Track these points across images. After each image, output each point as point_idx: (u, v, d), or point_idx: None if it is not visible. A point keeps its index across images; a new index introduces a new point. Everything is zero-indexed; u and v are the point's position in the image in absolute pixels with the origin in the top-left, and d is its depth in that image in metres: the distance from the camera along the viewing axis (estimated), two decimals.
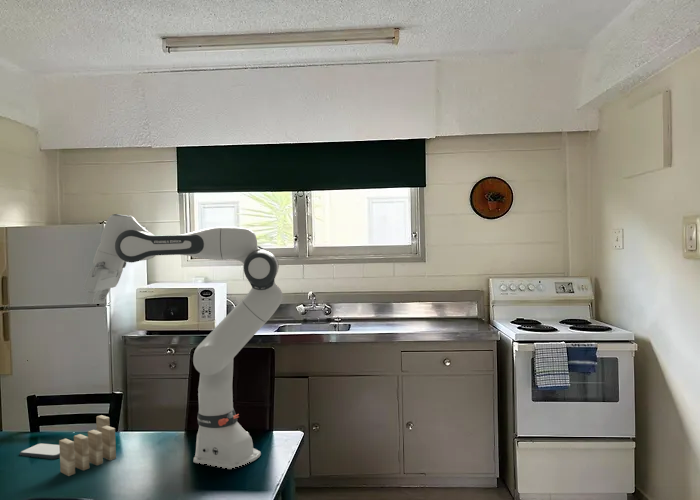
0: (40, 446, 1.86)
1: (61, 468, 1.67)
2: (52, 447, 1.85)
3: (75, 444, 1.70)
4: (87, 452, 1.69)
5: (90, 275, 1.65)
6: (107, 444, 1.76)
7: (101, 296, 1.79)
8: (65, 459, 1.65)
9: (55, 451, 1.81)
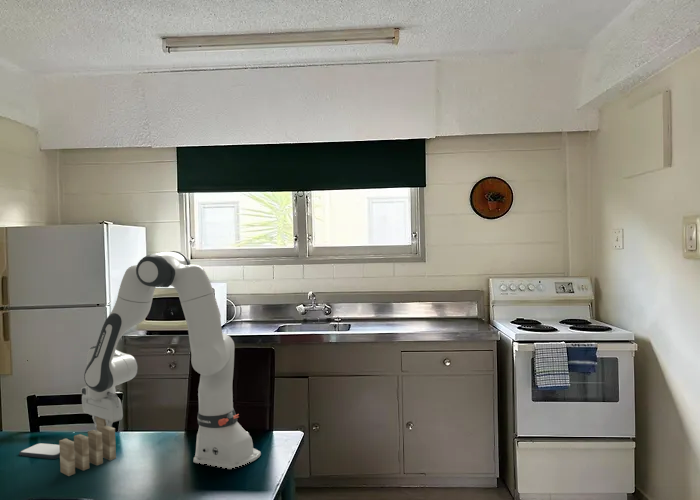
0: (39, 446, 1.86)
1: (61, 468, 1.67)
2: (52, 446, 1.86)
3: (75, 444, 1.70)
4: (87, 452, 1.69)
5: (115, 407, 1.82)
6: (107, 444, 1.76)
7: None
8: (65, 459, 1.65)
9: (55, 451, 1.81)
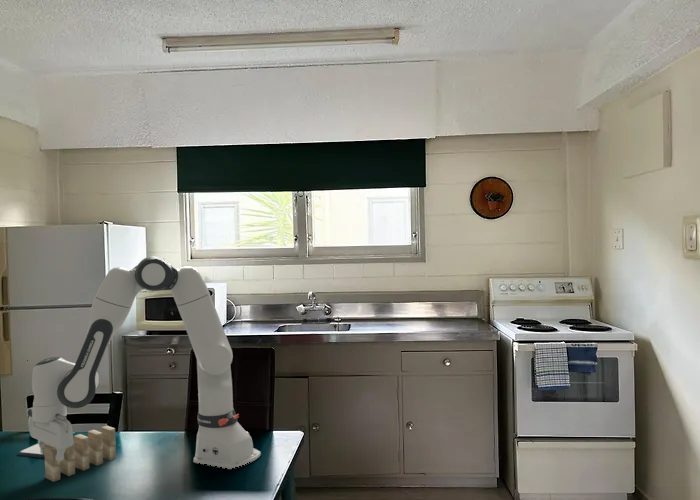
0: None
1: (61, 468, 1.67)
2: None
3: (75, 444, 1.70)
4: (87, 452, 1.69)
5: (64, 432, 1.56)
6: (107, 444, 1.76)
7: None
8: (65, 459, 1.65)
9: None
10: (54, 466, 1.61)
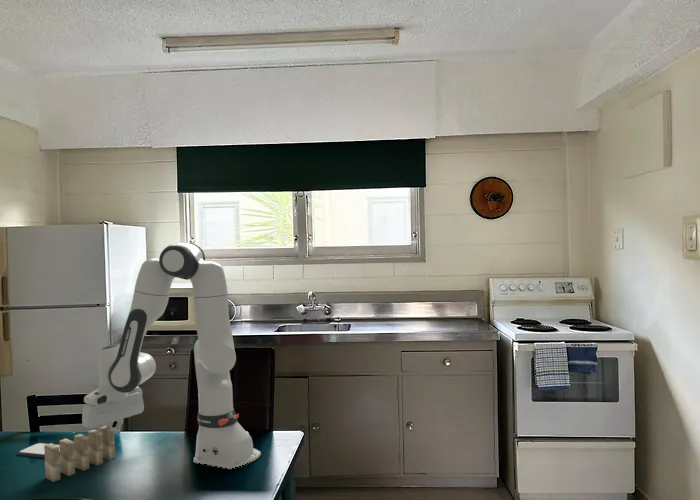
0: (38, 446, 1.86)
1: (61, 468, 1.67)
2: None
3: (75, 444, 1.70)
4: (87, 452, 1.69)
5: None
6: (106, 444, 1.76)
7: None
8: (65, 459, 1.65)
9: None
10: (54, 466, 1.61)
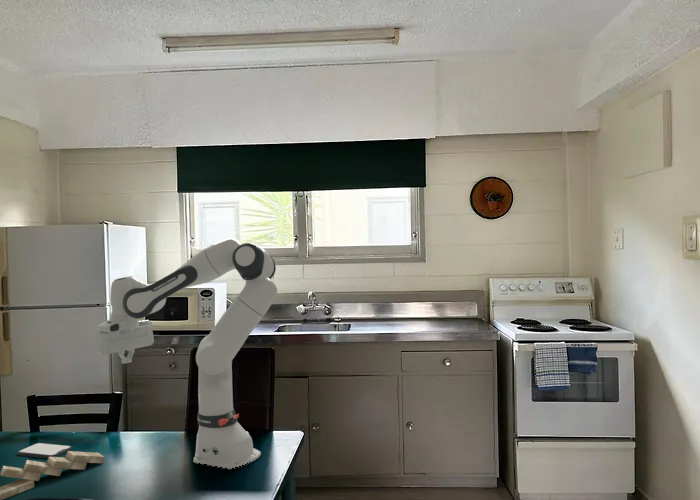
0: (38, 446, 1.87)
1: None
2: (50, 446, 1.86)
3: None
4: (43, 467, 1.61)
5: None
6: None
7: None
8: None
9: (53, 451, 1.81)
10: (17, 492, 1.54)
